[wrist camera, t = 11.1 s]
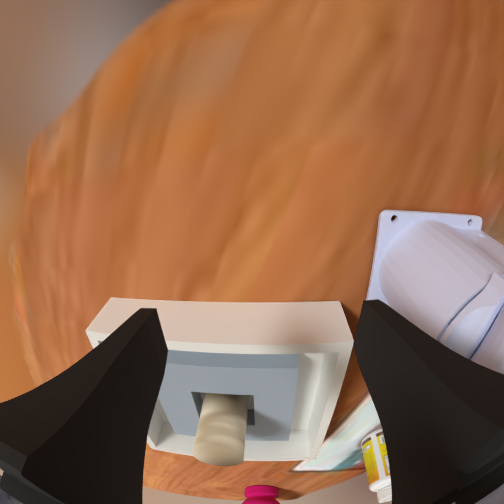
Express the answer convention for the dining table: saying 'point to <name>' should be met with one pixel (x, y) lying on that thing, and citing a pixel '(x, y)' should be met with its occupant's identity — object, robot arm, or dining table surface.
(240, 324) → the tray
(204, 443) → the peg
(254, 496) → the pepper mill
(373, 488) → the supplement bottle
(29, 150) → the dining table surface
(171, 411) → the bore plate
